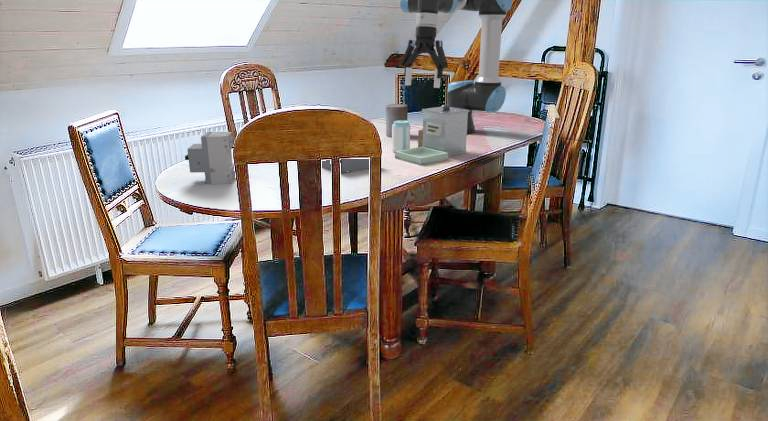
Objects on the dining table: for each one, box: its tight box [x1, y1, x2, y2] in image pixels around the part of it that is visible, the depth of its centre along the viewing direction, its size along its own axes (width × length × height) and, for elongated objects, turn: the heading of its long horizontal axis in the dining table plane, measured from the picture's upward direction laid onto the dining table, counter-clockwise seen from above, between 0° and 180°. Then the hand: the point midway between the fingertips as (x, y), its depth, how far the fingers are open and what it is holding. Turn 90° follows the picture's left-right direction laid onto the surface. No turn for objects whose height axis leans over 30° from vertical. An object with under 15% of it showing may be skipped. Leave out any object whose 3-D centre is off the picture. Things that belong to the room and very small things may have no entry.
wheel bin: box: [321, 159, 370, 174], centre depth 191 cm, size 16×14×6 cm
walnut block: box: [417, 128, 423, 147], centre depth 221 cm, size 5×5×7 cm
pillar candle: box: [385, 103, 408, 138], centre depth 243 cm, size 10×10×15 cm
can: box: [391, 120, 411, 153], centre depth 212 cm, size 7×7×12 cm
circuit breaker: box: [184, 131, 236, 185], centre depth 171 cm, size 8×14×15 cm, turn 95°
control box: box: [421, 104, 470, 158], centre depth 210 cm, size 13×13×18 cm
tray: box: [394, 146, 449, 166], centre depth 202 cm, size 14×14×2 cm
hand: (422, 86), depth 201 cm, fingers open, 13 cm apart
